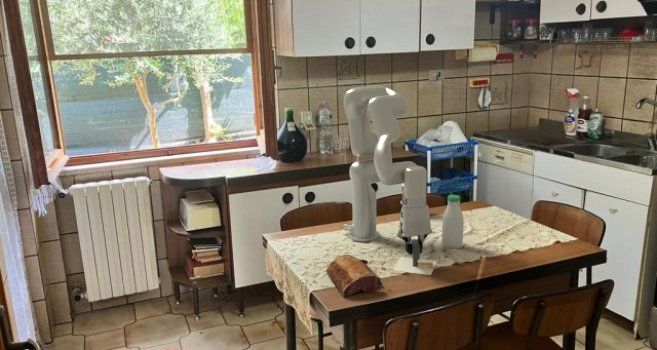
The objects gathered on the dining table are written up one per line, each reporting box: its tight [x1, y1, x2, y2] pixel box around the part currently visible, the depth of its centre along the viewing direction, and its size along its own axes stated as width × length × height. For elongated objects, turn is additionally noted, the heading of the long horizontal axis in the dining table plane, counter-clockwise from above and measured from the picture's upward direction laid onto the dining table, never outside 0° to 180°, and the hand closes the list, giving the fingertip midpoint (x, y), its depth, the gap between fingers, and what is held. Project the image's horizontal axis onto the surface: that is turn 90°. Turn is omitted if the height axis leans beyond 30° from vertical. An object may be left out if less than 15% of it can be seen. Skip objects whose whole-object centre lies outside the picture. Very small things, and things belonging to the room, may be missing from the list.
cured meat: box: [326, 254, 383, 298], centre depth 184 cm, size 18×25×7 cm
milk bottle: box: [441, 194, 464, 250], centre depth 207 cm, size 8×8×20 cm
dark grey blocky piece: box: [411, 238, 433, 267], centre depth 188 cm, size 7×7×8 cm
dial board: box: [392, 256, 438, 276], centre depth 190 cm, size 13×12×1 cm
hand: (414, 252), depth 191 cm, fingers closed on dark grey blocky piece, 3 cm apart
